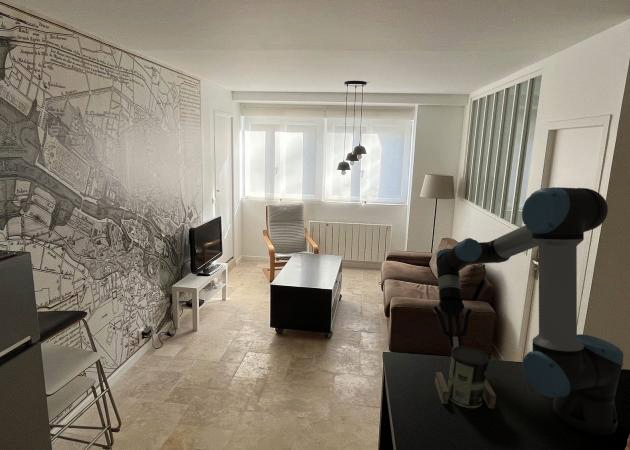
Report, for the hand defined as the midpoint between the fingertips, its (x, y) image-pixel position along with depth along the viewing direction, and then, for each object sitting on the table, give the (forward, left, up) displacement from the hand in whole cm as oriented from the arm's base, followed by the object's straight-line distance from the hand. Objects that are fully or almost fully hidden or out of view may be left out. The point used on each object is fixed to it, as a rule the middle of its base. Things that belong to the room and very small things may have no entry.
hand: (456, 357), depth 130 cm
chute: (0, +10, -7) cm, 12 cm away
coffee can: (0, +11, -7) cm, 13 cm away
